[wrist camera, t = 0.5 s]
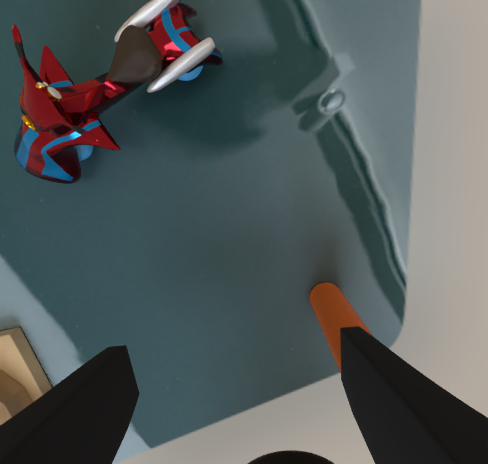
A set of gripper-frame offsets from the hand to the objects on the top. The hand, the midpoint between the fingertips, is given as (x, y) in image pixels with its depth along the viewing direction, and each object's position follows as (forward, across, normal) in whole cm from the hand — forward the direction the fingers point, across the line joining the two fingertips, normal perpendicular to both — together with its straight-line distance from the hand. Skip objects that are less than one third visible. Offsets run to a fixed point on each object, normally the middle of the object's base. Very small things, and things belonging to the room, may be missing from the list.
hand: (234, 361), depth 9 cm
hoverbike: (+9, +6, -10) cm, 15 cm away
